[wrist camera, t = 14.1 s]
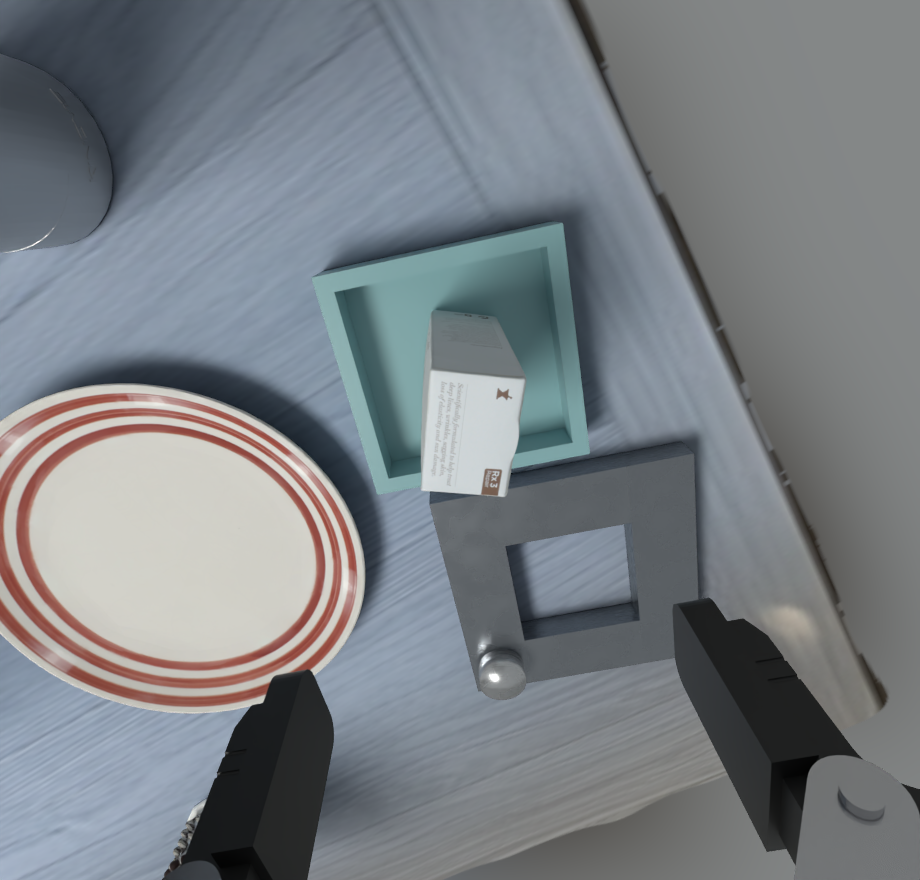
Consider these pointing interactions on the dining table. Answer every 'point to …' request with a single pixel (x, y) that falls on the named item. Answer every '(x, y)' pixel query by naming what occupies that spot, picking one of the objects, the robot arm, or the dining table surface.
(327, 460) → the dining table surface
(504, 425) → the skincare box
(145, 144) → the dining table surface
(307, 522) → the dinner plate
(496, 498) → the socket block
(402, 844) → the dining table surface
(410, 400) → the tray
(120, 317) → the dining table surface
